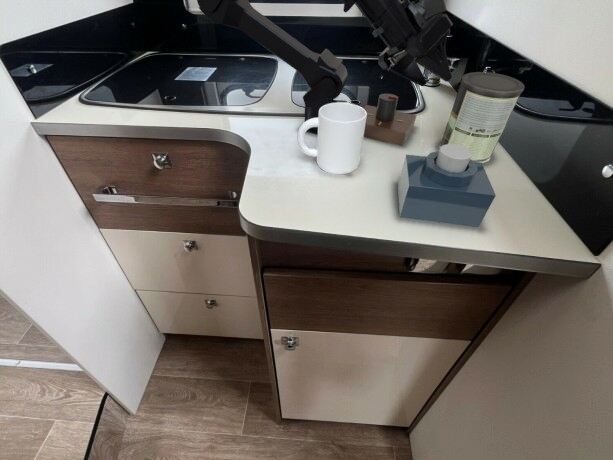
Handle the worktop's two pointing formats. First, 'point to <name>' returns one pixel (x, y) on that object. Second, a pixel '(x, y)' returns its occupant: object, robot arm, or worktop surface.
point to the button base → (443, 192)
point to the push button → (453, 158)
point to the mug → (336, 137)
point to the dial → (386, 107)
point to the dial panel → (388, 126)
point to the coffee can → (481, 112)
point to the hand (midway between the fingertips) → (436, 82)
